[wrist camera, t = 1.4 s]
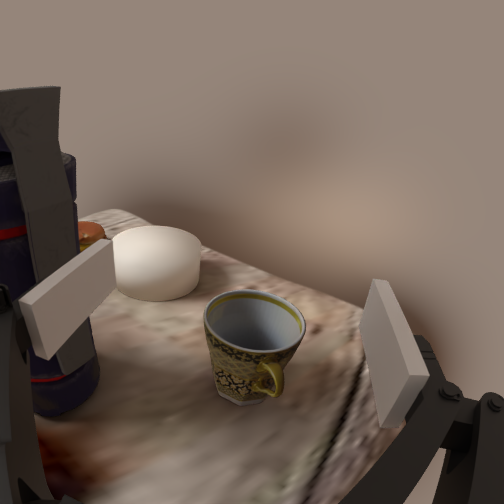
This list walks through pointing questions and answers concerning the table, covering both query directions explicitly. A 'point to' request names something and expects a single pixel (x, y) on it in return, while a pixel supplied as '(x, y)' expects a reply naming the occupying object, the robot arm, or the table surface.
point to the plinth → (156, 262)
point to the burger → (89, 234)
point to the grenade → (42, 235)
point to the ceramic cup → (251, 343)
